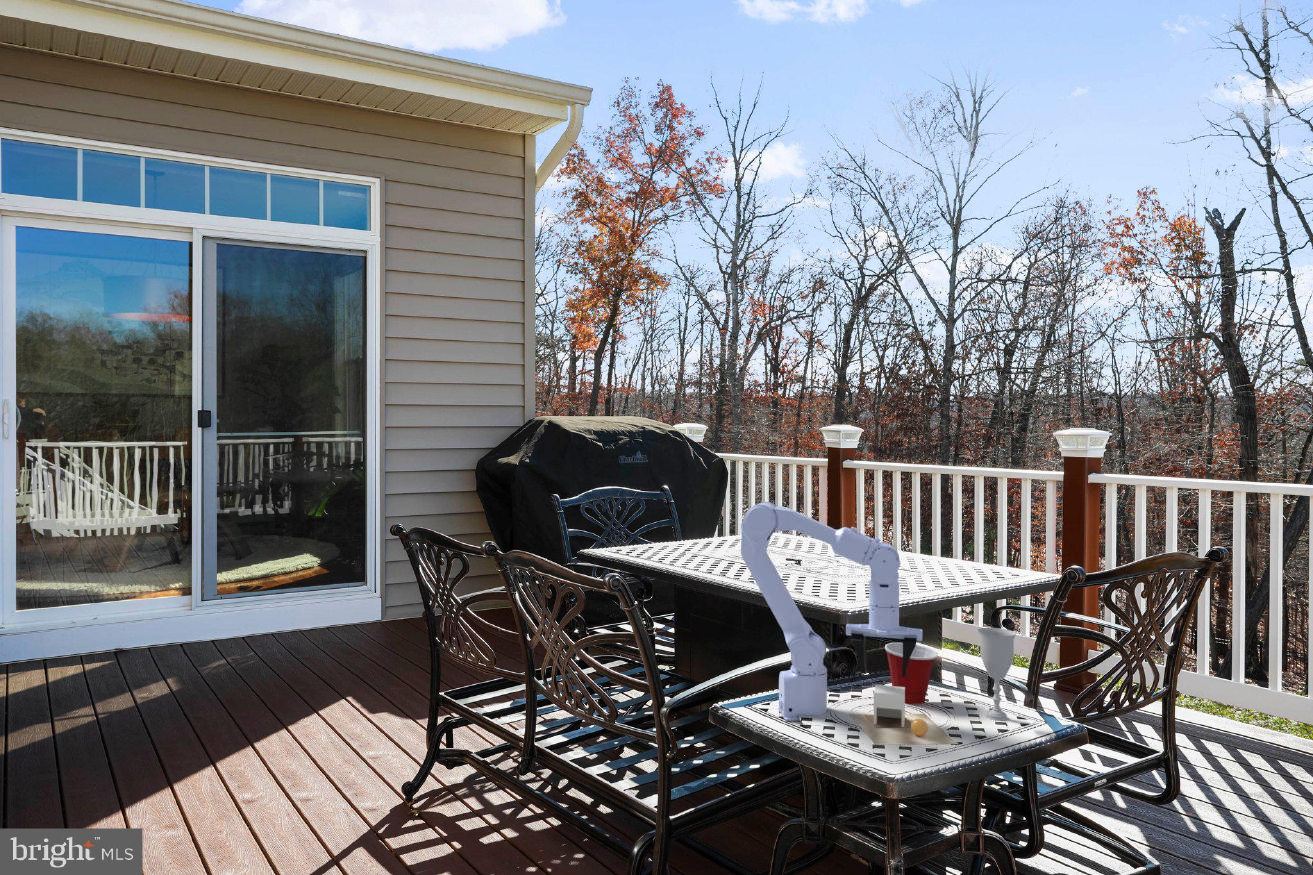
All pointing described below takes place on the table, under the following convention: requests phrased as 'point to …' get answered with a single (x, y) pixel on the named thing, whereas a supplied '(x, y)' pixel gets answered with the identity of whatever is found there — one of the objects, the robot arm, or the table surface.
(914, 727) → the orange marble
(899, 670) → the plastic cup
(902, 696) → the white tabletop archway
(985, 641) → the chalice
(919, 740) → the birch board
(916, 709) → the table surface
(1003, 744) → the table surface
